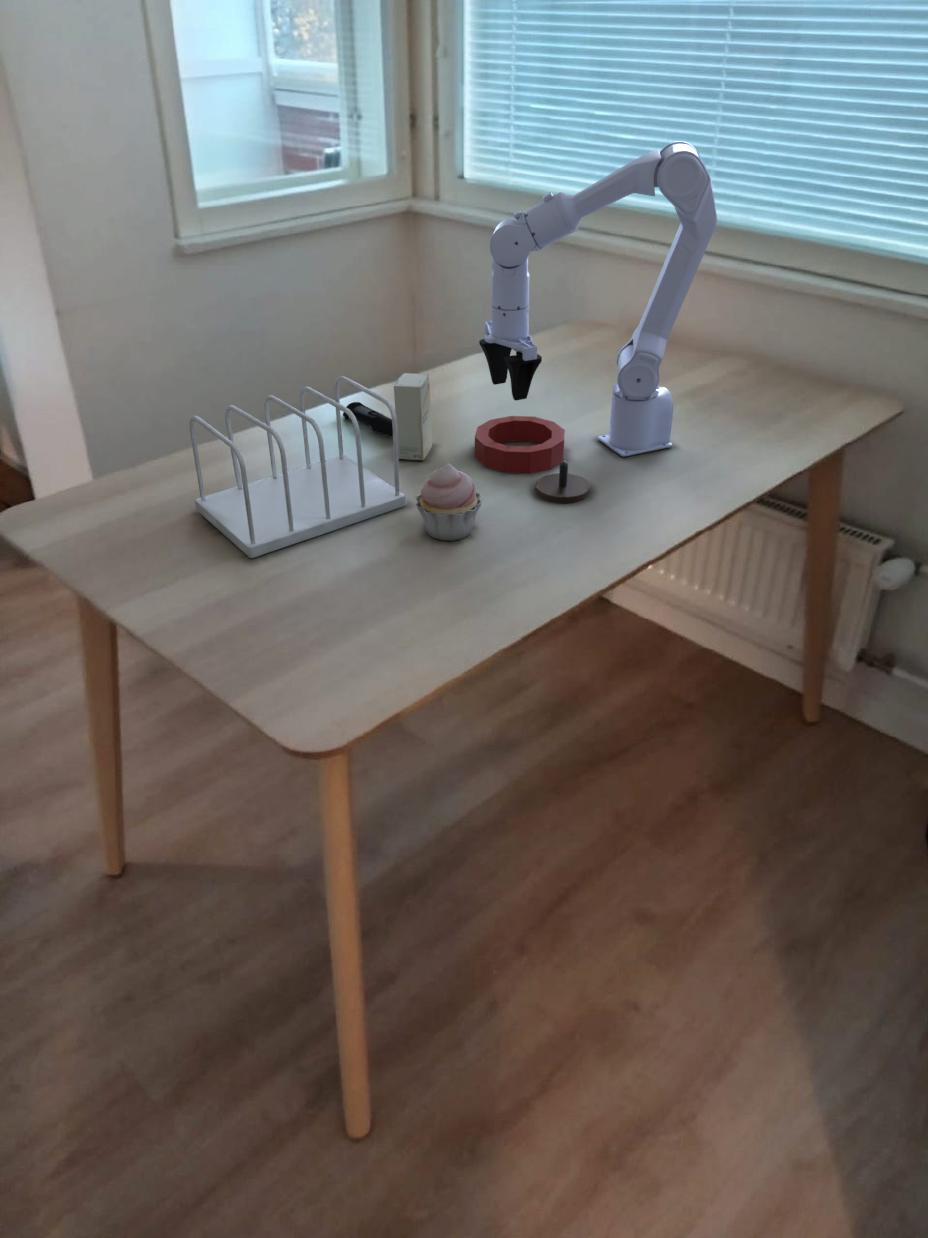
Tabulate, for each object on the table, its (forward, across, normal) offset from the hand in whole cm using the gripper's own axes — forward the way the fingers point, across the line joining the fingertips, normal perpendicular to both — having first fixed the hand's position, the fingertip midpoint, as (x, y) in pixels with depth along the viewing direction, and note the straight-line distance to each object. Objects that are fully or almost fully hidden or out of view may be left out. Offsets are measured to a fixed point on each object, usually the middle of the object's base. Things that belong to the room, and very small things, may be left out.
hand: (509, 390), depth 152 cm
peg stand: (+8, +20, -1) cm, 22 cm away
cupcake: (+8, +24, -21) cm, 33 cm away
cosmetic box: (+8, -2, -16) cm, 18 cm away
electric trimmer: (+8, -14, -18) cm, 24 cm away
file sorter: (+8, +9, -38) cm, 40 cm away
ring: (+8, +6, -1) cm, 10 cm away
